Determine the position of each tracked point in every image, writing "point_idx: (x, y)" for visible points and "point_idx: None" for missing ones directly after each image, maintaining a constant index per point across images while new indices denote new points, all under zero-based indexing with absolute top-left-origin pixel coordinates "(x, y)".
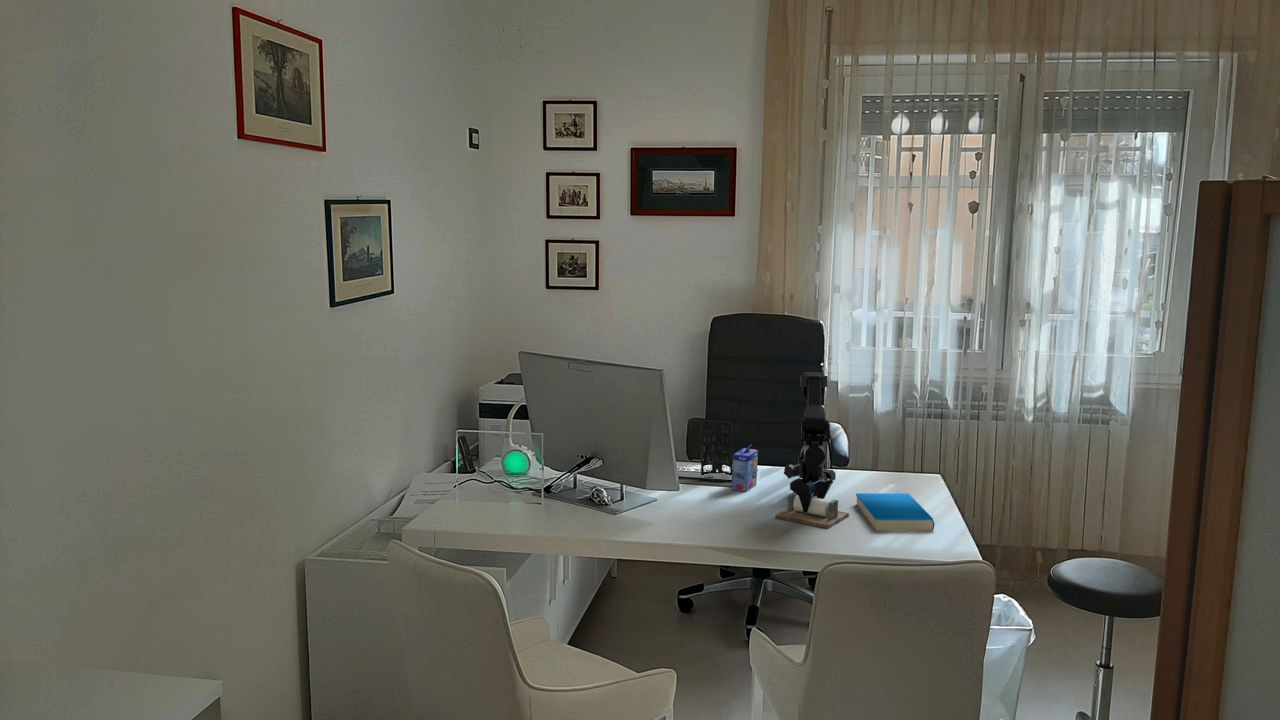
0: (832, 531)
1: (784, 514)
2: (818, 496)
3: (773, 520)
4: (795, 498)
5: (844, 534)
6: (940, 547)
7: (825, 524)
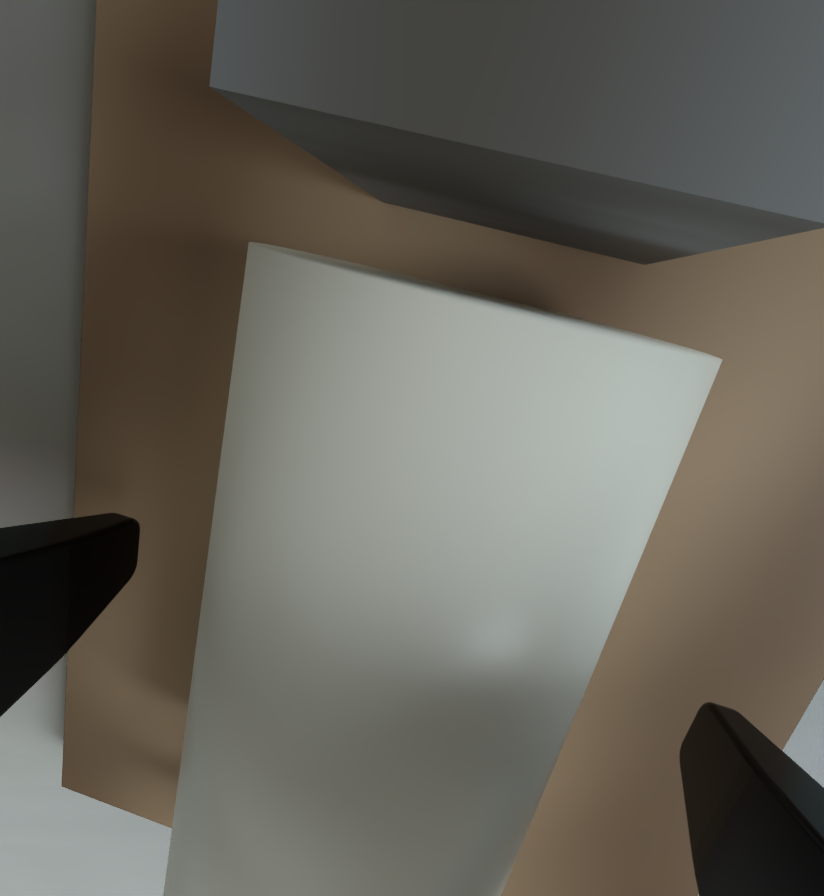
0: (44, 789)
1: (176, 127)
2: (787, 882)
3: (7, 4)
4: (264, 283)
5: (31, 879)
6: None
7: (72, 759)
